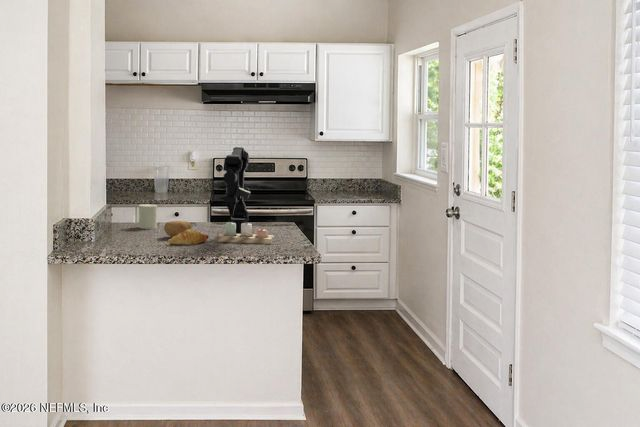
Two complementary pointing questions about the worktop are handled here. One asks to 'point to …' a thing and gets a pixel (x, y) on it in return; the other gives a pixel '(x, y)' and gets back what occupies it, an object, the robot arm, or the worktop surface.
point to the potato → (176, 227)
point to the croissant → (188, 238)
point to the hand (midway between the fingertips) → (231, 215)
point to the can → (148, 216)
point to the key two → (246, 229)
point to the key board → (245, 239)
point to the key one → (230, 229)
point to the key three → (261, 233)
